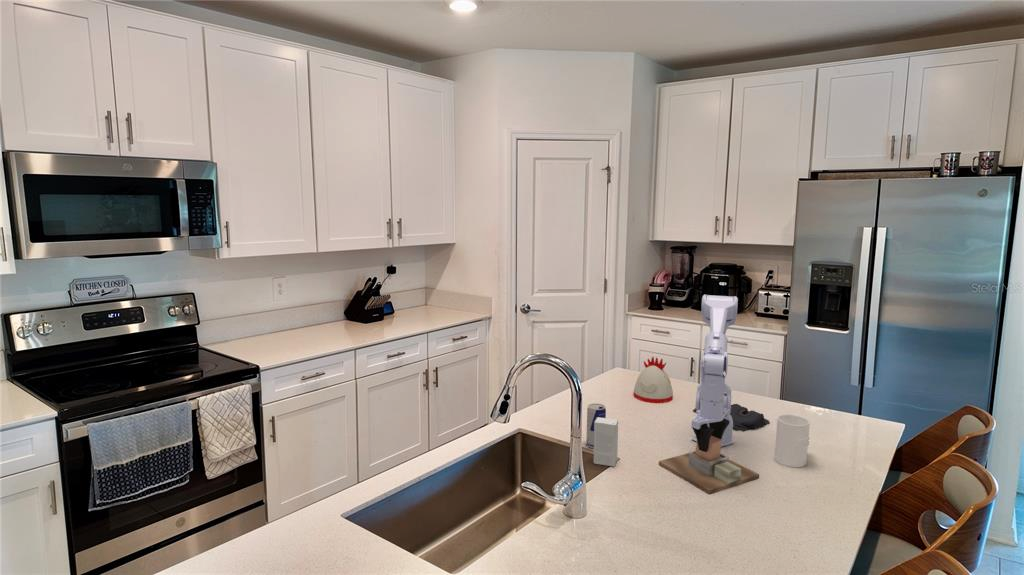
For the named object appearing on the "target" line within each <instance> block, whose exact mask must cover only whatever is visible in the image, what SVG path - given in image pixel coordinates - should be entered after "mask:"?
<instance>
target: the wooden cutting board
mask: <svg viewBox="0 0 1024 575" xmlns="http://www.w3.org/2000/svg"><path fill="white" fill-rule="evenodd" d="M695 454H696V450H693V451H690V452H687V453H684V454H679V455H677V456H676V455H675V456H674V457H670V458H666V459H662V460H659V461H658V465H659V466H660V465H661V466H660V467H662V468H663V467H664V468H663V469H665V468H666V469H665V470H667V471H668V472H670V471H671V472H670V473H672V474H674V475H675V474H676V476H677V475H678V476H677V477H679V478H680V479H682V478H683V479H682V480H684V481H686V482H687V481H688V482H687V483H689V482H690V483H689V484H691V485H692V484H693V485H692V486H694V485H695V486H694V487H696V488H698V489H699V488H700V489H699V490H701V491H703V492H704V491H705V492H704V493H706V494H708V495H711V494H714V493H718V492H721V491H723V490H727V489H729V488H732V487H736V486H739V485H742V484H745V483H748V482H751V481H754V480H758V479H760V474H759V473H758V472H756V471H753V470H751V469H749V468H747V467H745V466H744V465H741V464H740V463H737V462H735V461H733V460H732V459H729V458H730V457H729V456H727V455H725V454H723V453H721V452H720V458H718V459H716V460H714V461H711V462H709V461H707V460H704V459H702V458H700V457H698V456H696V455H695ZM720 490H721V491H720Z"/></svg>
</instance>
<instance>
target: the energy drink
mask: <svg viewBox="0 0 1024 575" xmlns="http://www.w3.org/2000/svg"><path fill="white" fill-rule="evenodd" d="M586 410H587V411H586V446H587V447H588V448H589V447H590V449H593V450H594V422H595V420H596V419H597V417H600V418H606V417H607V414H606V413H607V410H606V406H605V405H604V404H601V403H590V404H588V405H587V409H586Z"/></svg>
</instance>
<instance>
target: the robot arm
mask: <svg viewBox="0 0 1024 575" xmlns="http://www.w3.org/2000/svg"><path fill="white" fill-rule="evenodd" d="M738 301H739V298H738V297H737V296H736V295H735V296H729V295H728V296H727V295H710V294H703V295H702V298H701V318H702V323H705V324H707V326H708V327H709V331H710V332H709V333H707V335H706V336H705V339H704V346H703V348H704V349H703V354H701V356H700V357H701V358H700V383H698V386H697V389H696V394H695V408H696V410H697V411H696V413H695V414H696V416H695V418H693V419H691V429H692V431H693V432H694V435H695V436H694V437H692V438H691V440H692V441H694V442H696V443H697V442H698V447H699V450H701V451H704V452H707V451H708V447H709V441H710V437H711V436H714V437H716V438H719V439H721V440H722V443H721V448H722V447H725V446H729V445H733V444H734V443H735V441H733V432H734V430H733V420H732V417H731V415H730V413H731V405H732V389H731V387H730V386H729V385H728V384H727V383H726V377H727V375H728V368H729V367H728V364H729V358H728V337H727V336H726V333H727V330H728V328H729V327H730V326H733V325H735V323H736V322H737V316H738V304H739V303H738ZM724 373H725V374H724ZM699 409H700V410H699Z"/></svg>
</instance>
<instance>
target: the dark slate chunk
mask: <svg viewBox="0 0 1024 575" xmlns="http://www.w3.org/2000/svg"><path fill="white" fill-rule="evenodd" d="M699 410H700V409H699ZM696 411H697V410H696V407H695V408H694V409H693V410H692V412H693V413H694V414H696ZM730 415H731V417H732V420H733V431H735V432H743V433H744V432H747V431H751V430H752V431H753V430H758V429H761V428H764V427H765V426H767V425H768V424H770V421H769V419H767V418H765V417H764V414H763V413H760V412H757V411H755V410H748V408H747V407H745V406H741V405H740V404H738V403H732V404H731V413H730Z"/></svg>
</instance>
